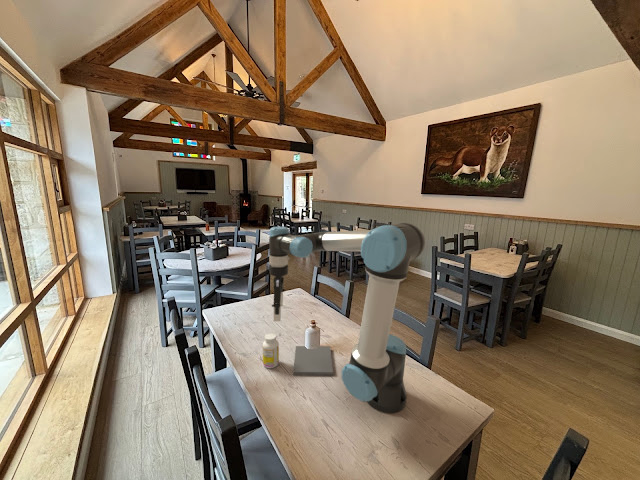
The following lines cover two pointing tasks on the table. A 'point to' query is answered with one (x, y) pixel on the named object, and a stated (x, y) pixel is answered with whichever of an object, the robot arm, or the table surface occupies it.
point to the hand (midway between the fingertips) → (278, 313)
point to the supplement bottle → (270, 351)
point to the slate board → (313, 361)
